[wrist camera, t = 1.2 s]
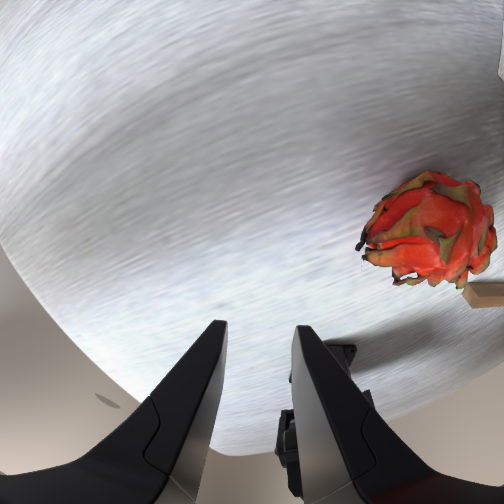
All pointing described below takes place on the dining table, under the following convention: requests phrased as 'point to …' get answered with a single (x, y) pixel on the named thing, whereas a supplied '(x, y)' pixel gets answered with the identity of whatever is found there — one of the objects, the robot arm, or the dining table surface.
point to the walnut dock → (484, 294)
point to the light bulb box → (502, 59)
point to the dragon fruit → (431, 231)
